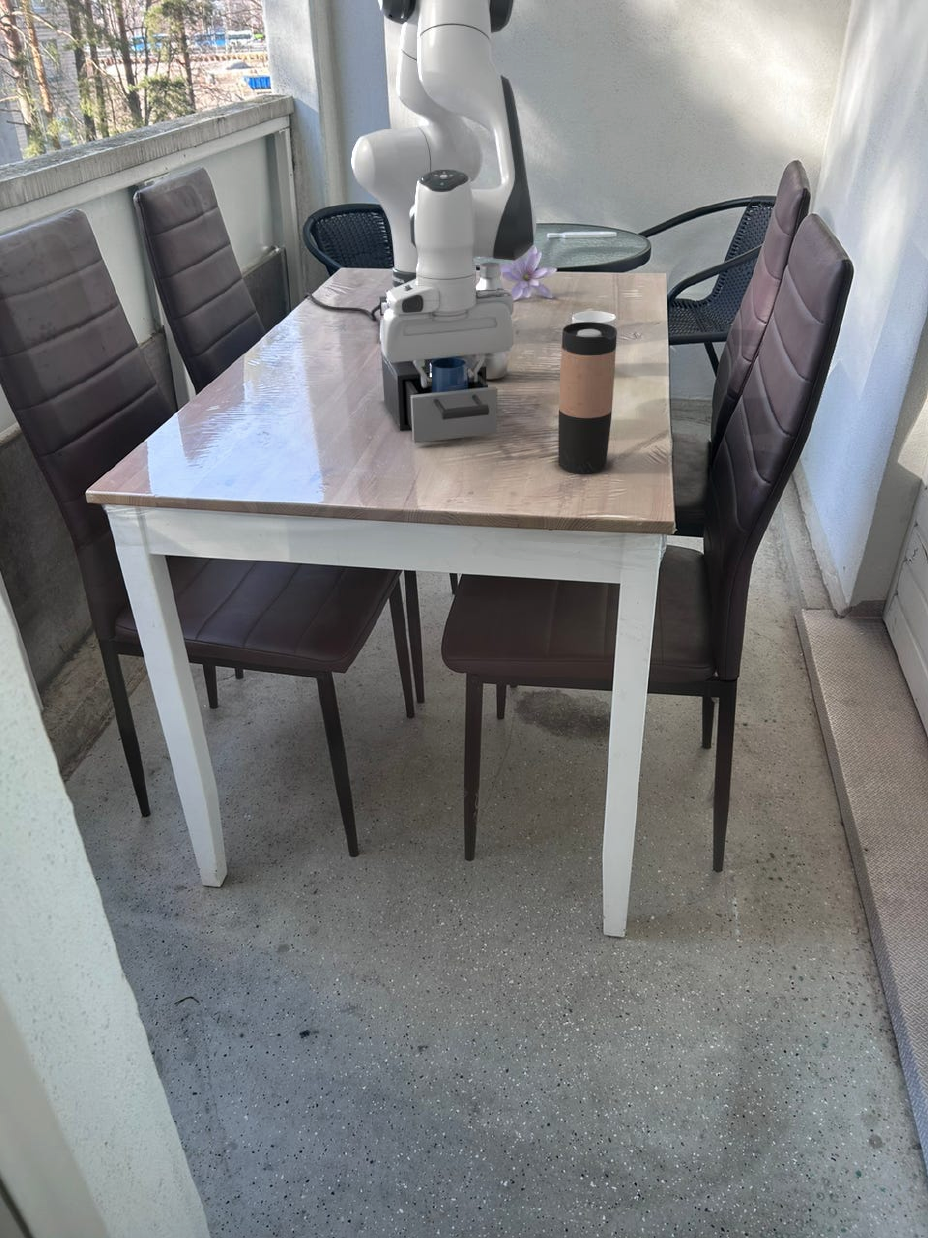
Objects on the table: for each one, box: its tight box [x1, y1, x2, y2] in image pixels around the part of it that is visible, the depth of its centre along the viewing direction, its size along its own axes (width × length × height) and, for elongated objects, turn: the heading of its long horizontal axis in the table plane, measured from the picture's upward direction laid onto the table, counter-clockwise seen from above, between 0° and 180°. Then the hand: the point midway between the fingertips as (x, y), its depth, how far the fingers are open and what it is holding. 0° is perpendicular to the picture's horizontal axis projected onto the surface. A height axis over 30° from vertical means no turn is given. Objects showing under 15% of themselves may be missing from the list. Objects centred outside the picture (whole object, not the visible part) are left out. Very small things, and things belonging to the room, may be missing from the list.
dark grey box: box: [380, 350, 487, 431], centre depth 159 cm, size 14×15×9 cm
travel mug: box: [557, 322, 618, 475], centre depth 136 cm, size 8×8×20 cm
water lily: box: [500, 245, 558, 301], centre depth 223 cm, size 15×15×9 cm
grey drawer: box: [402, 373, 498, 444], centre depth 149 cm, size 19×13×7 cm
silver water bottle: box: [476, 261, 509, 380], centre depth 170 cm, size 6×7×20 cm
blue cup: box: [430, 357, 468, 393], centre depth 148 cm, size 6×6×5 cm
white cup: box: [571, 310, 617, 328], centre depth 175 cm, size 8×8×10 cm
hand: (449, 383), depth 148 cm, fingers closed on blue cup, 6 cm apart
